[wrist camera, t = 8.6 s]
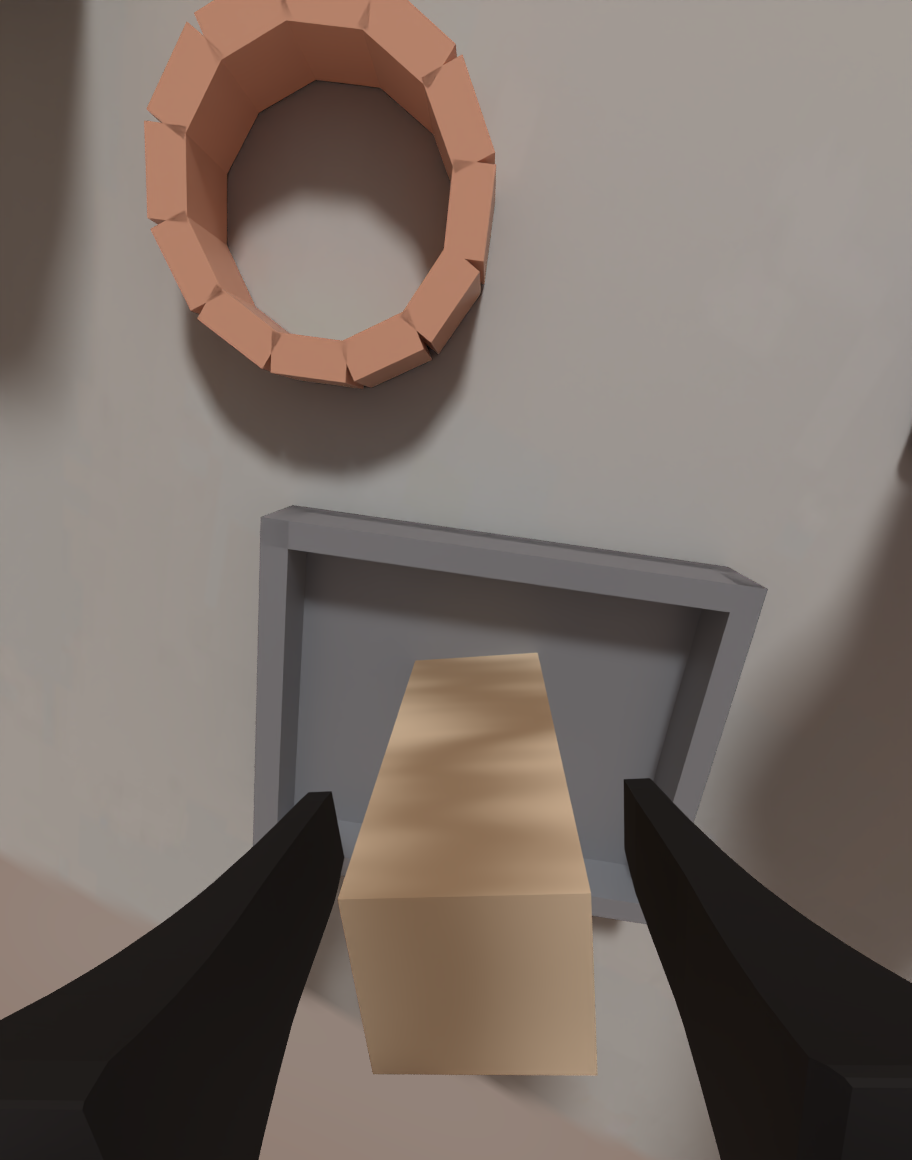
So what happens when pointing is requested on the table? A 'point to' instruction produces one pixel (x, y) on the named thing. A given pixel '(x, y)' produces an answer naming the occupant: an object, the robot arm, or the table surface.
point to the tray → (486, 628)
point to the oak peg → (472, 884)
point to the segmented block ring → (222, 122)
